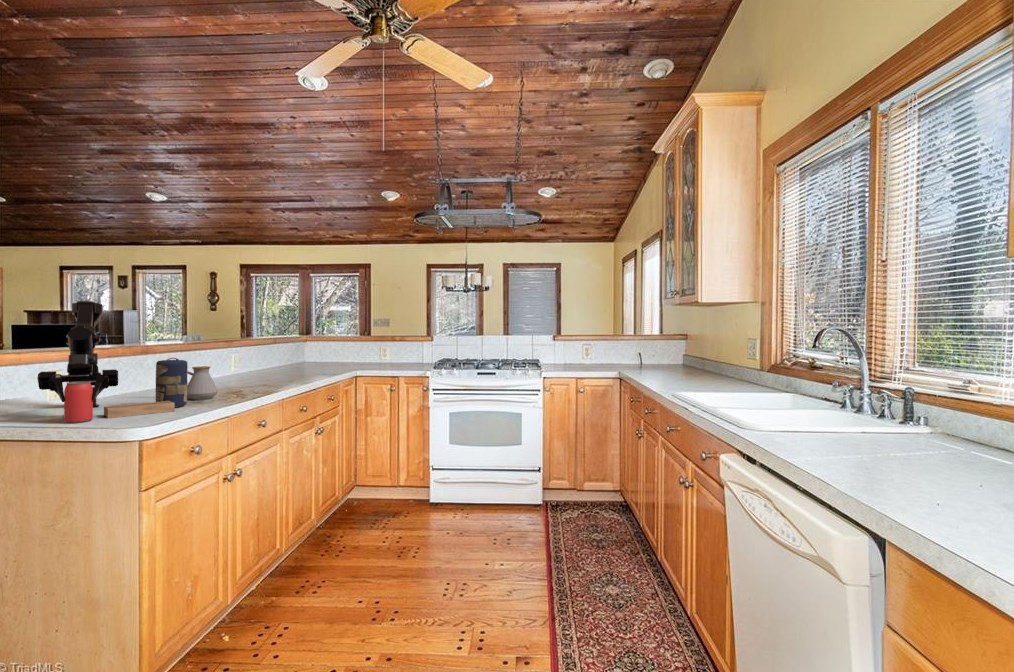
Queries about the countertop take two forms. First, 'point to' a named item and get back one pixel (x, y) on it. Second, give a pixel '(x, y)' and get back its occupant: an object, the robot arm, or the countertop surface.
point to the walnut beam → (138, 409)
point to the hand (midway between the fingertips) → (78, 400)
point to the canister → (171, 381)
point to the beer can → (78, 402)
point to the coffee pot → (201, 384)
